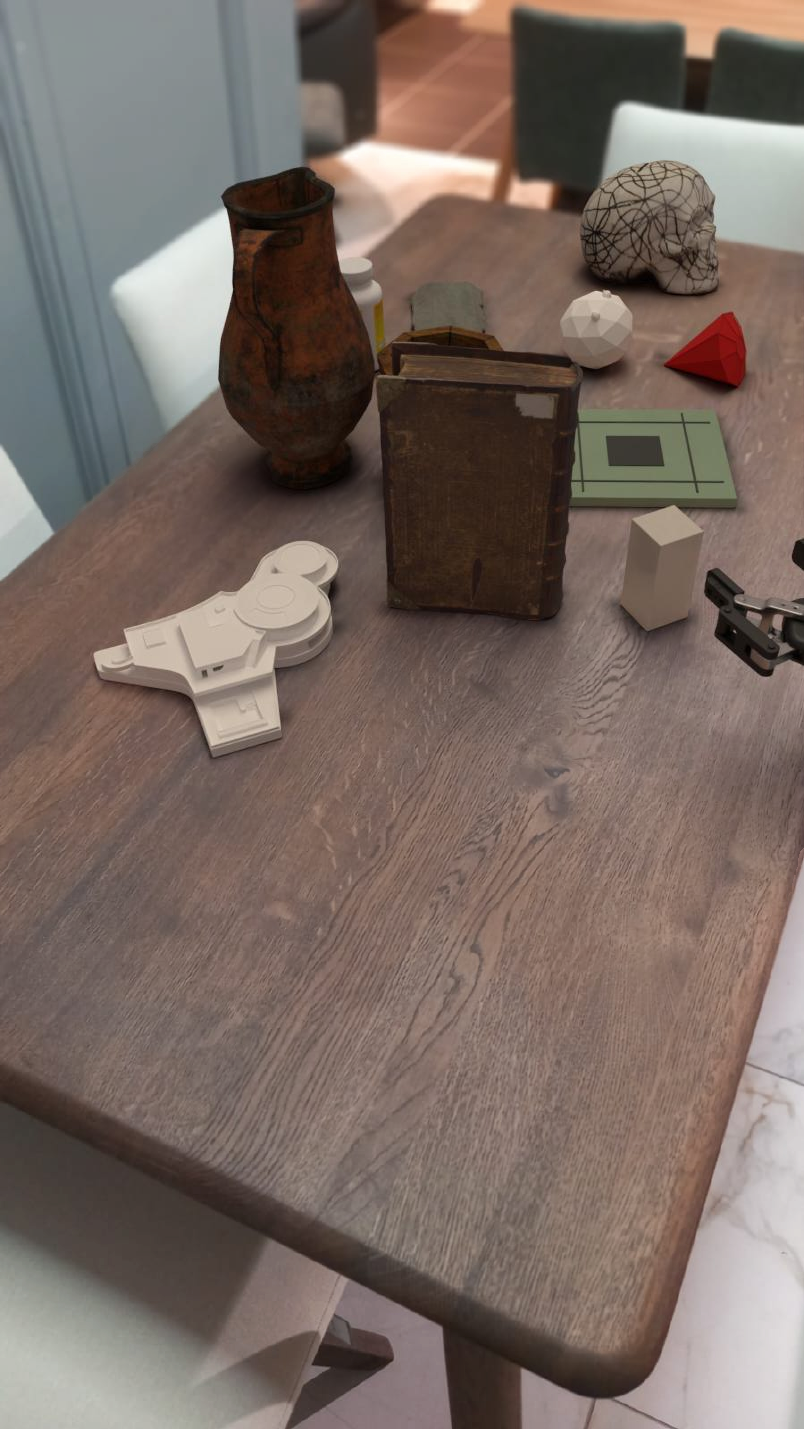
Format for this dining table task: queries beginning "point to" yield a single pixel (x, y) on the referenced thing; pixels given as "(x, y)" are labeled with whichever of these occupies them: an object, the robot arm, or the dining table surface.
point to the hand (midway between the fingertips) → (753, 562)
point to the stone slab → (448, 306)
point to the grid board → (650, 459)
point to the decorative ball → (596, 329)
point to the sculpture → (653, 228)
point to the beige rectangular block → (661, 567)
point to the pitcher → (292, 330)
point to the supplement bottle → (366, 299)
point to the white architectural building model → (235, 646)
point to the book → (477, 477)
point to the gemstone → (715, 352)
